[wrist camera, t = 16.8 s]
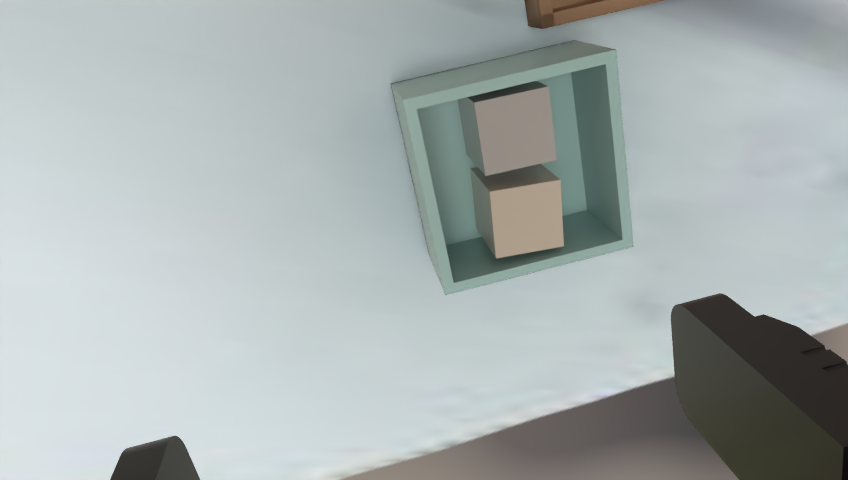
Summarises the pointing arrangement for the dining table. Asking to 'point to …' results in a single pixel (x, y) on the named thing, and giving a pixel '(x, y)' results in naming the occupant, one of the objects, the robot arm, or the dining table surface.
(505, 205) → the beige matte cube
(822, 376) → the robot arm
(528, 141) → the grey brown block
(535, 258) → the teal bin
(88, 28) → the dining table surface
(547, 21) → the walnut tray
